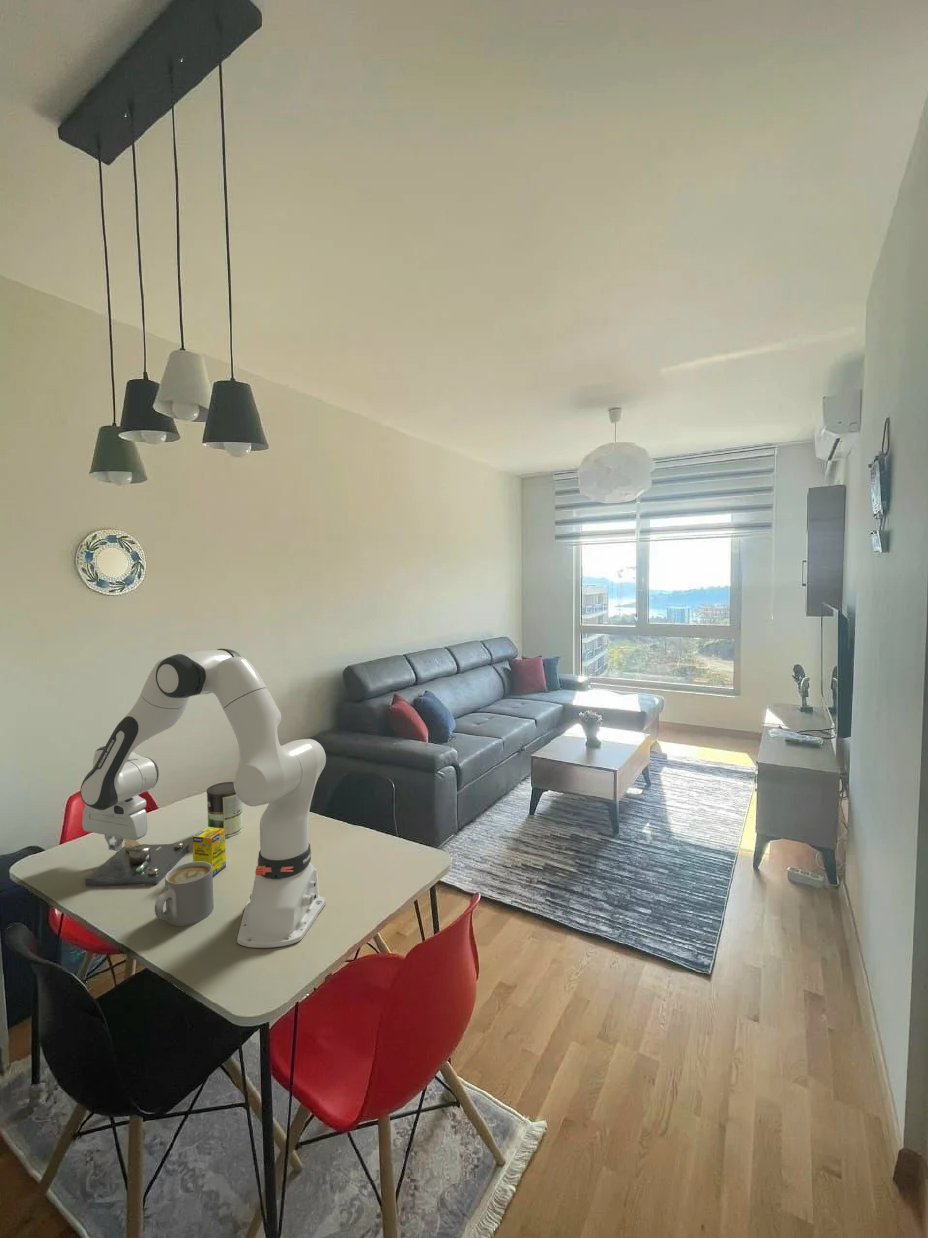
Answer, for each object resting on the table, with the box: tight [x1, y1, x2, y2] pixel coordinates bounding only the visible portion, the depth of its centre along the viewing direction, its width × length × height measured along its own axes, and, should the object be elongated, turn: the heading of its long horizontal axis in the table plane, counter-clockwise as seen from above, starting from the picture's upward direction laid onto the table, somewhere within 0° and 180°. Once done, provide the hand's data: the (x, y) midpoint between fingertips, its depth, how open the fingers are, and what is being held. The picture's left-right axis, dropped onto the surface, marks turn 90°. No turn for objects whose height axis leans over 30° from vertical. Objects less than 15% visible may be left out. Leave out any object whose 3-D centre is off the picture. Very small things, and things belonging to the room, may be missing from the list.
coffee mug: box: [154, 861, 214, 927], centre depth 126 cm, size 13×10×10 cm
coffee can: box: [206, 781, 244, 839], centre depth 170 cm, size 10×10×14 cm
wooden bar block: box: [124, 838, 151, 864], centre depth 151 cm, size 12×5×3 cm, turn 48°
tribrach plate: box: [84, 841, 190, 888], centre depth 148 cm, size 18×18×3 cm
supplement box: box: [192, 826, 227, 878], centre depth 146 cm, size 6×6×11 cm
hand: (115, 849), depth 151 cm, fingers closed
